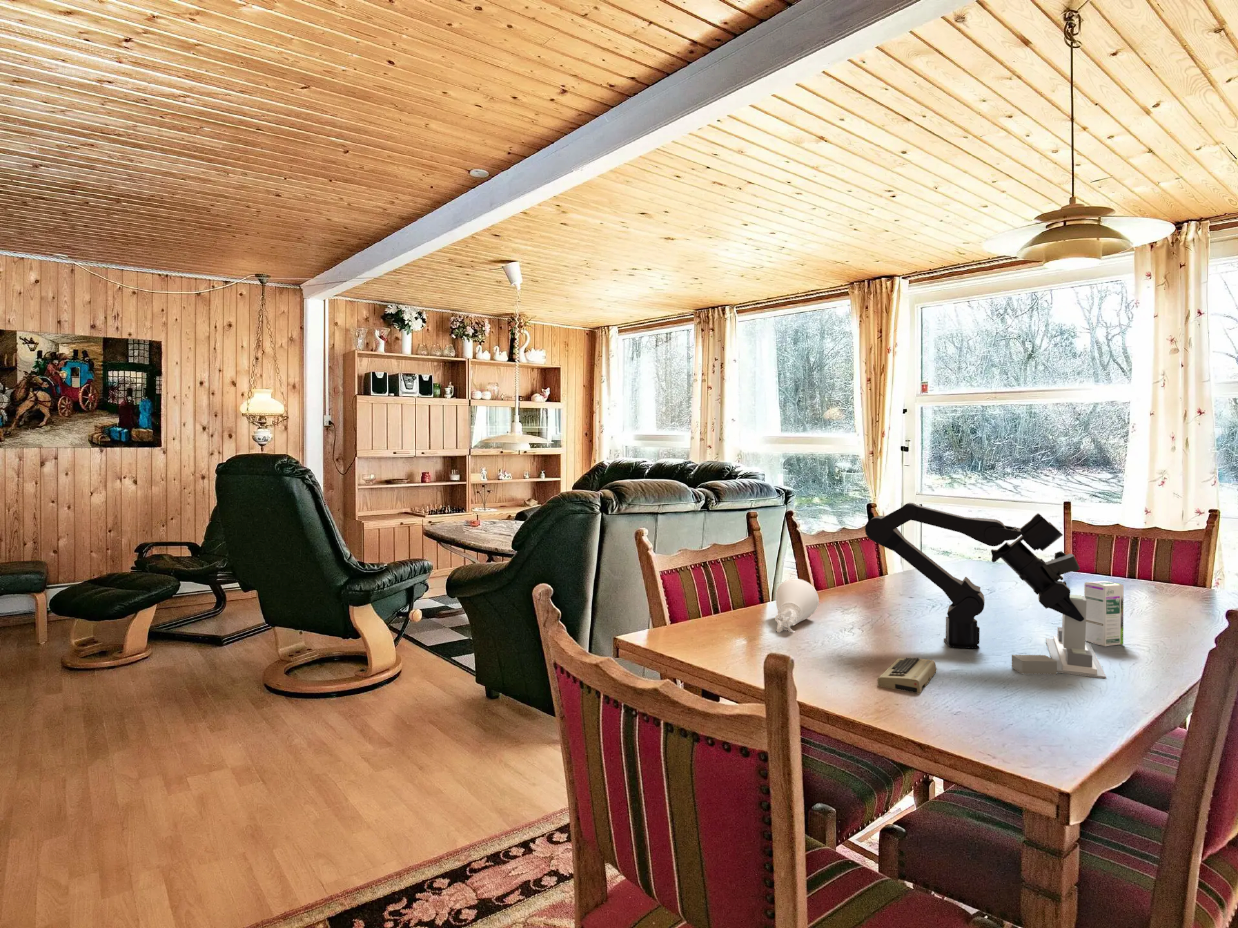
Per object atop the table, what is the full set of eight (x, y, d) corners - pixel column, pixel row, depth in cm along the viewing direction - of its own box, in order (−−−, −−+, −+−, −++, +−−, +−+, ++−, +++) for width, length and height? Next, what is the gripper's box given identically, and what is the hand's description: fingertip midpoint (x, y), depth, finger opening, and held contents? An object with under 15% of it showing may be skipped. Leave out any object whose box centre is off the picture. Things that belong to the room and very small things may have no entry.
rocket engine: (785, 597, 183) (798, 570, 199) (751, 621, 188) (767, 593, 204) (817, 633, 182) (828, 603, 198) (782, 656, 187) (795, 625, 203)
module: (1063, 647, 163) (1065, 597, 163) (1061, 642, 168) (1063, 593, 168) (1085, 650, 162) (1086, 599, 161) (1082, 644, 166) (1083, 595, 166)
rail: (1055, 672, 154) (1055, 665, 154) (1045, 640, 179) (1046, 634, 179) (1106, 678, 150) (1106, 671, 150) (1089, 644, 175) (1089, 638, 175)
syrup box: (1104, 646, 174) (1106, 585, 173) (1082, 640, 179) (1084, 580, 179) (1123, 645, 175) (1125, 584, 175) (1101, 638, 181) (1102, 579, 180)
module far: (1058, 641, 173) (1059, 629, 173) (1057, 637, 177) (1057, 626, 176) (1080, 643, 171) (1081, 632, 171) (1079, 639, 175) (1079, 628, 175)
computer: (896, 667, 159) (896, 652, 159) (936, 674, 154) (936, 658, 154) (876, 688, 146) (877, 671, 146) (920, 696, 141) (920, 679, 141)
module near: (1067, 664, 155) (1067, 651, 155) (1065, 659, 159) (1065, 647, 159) (1092, 667, 153) (1092, 654, 153) (1089, 662, 157) (1090, 649, 157)
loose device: (1022, 675, 153) (1022, 660, 153) (1011, 668, 158) (1011, 654, 158) (1056, 675, 153) (1056, 661, 153) (1045, 669, 158) (1045, 655, 157)
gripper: (1059, 546, 157) (1119, 603, 153) (1052, 536, 174) (1106, 587, 170) (1016, 579, 161) (1073, 636, 157) (1013, 566, 178) (1065, 617, 173)
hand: (1081, 617), depth 164 cm, fingers closed on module, 5 cm apart
